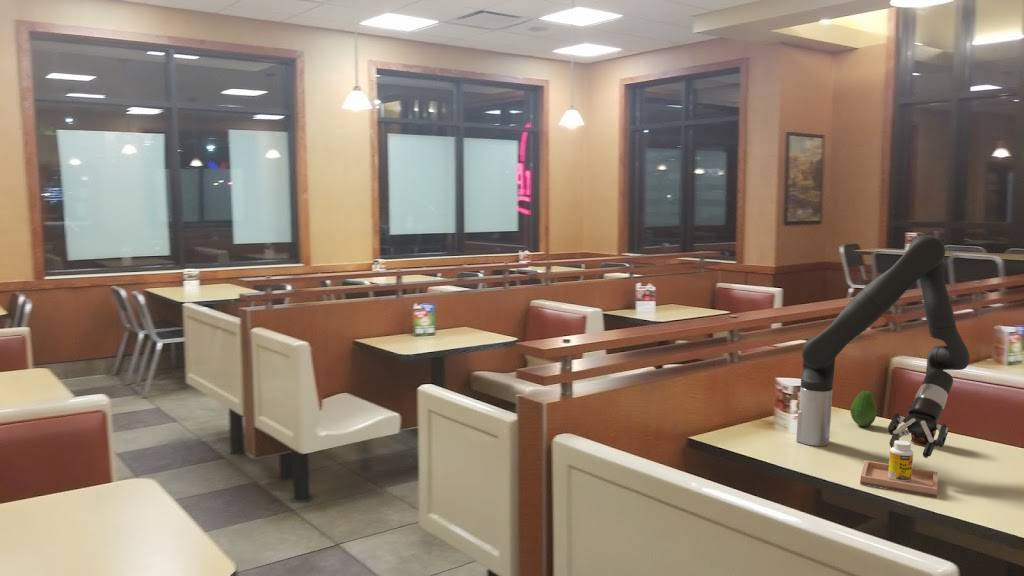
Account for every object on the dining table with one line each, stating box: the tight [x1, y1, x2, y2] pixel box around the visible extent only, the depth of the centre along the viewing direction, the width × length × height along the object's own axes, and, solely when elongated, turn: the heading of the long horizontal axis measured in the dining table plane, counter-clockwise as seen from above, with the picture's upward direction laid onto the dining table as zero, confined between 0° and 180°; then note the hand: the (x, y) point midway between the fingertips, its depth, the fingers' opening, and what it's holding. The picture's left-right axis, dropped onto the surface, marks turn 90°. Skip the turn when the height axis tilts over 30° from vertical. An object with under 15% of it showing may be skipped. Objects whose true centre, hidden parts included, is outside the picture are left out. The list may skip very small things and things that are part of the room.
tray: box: [859, 459, 939, 498], centre depth 207 cm, size 18×14×2 cm
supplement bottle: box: [888, 439, 914, 482], centre depth 206 cm, size 6×6×10 cm
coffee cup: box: [908, 401, 939, 447], centre depth 238 cm, size 9×8×13 cm
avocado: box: [850, 390, 878, 427], centre depth 256 cm, size 8×8×12 cm
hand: (908, 452), depth 209 cm, fingers open, 8 cm apart
